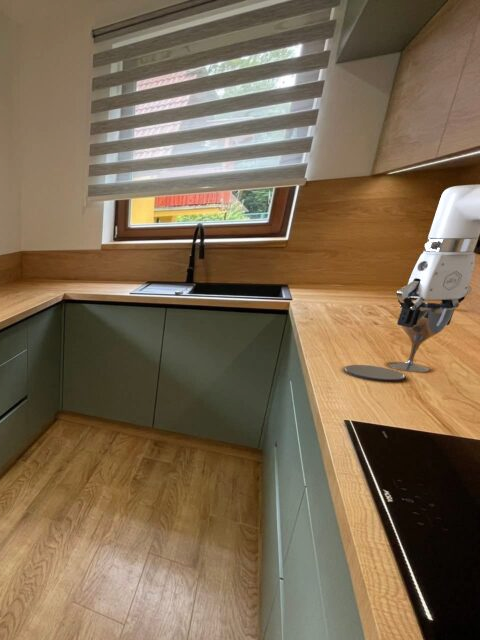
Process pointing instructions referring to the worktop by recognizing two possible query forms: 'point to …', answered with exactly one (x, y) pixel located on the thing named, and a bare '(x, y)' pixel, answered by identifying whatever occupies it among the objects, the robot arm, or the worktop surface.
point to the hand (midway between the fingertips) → (422, 324)
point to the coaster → (374, 373)
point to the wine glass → (424, 331)
